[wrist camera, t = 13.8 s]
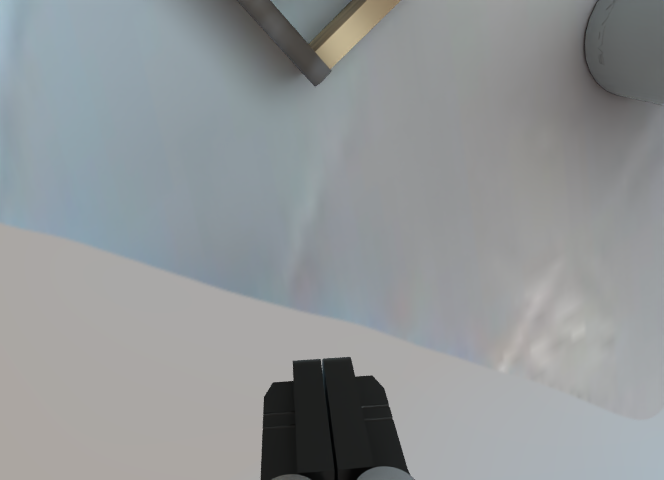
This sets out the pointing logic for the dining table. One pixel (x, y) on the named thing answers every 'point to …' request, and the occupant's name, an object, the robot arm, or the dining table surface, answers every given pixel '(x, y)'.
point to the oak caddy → (330, 43)
